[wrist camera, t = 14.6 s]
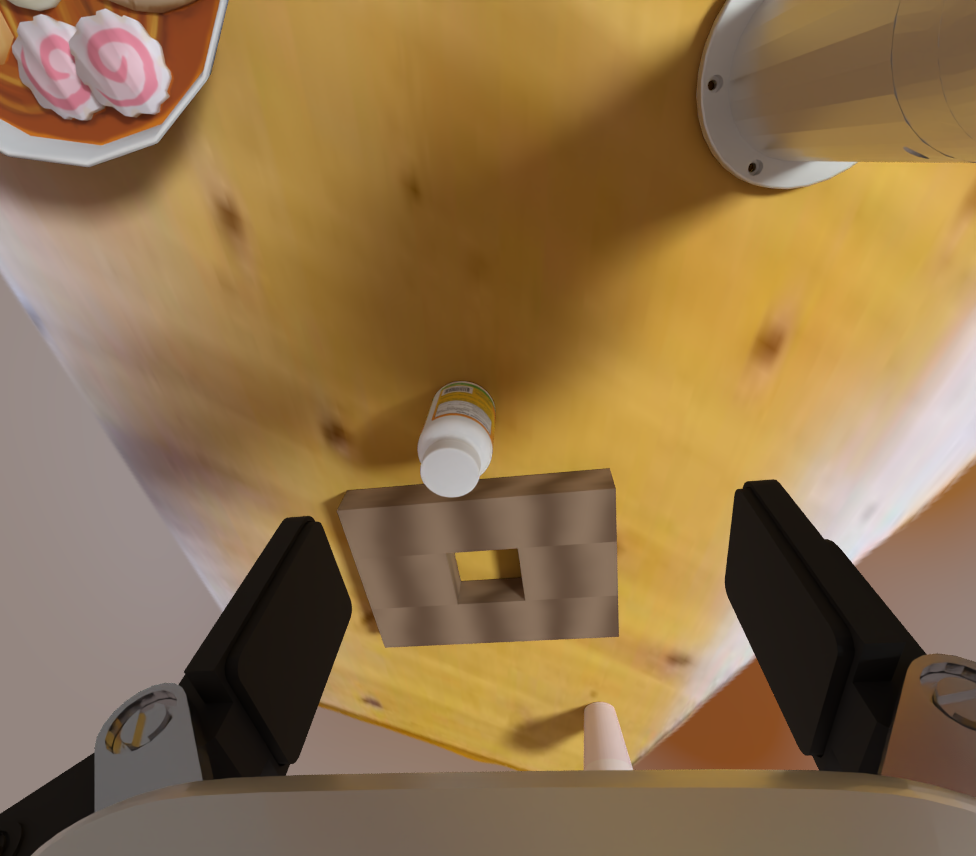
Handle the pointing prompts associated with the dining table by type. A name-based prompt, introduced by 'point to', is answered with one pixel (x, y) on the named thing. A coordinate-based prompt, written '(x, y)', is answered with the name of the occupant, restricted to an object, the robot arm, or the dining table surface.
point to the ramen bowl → (100, 74)
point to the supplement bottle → (457, 439)
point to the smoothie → (603, 739)
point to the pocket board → (479, 527)
